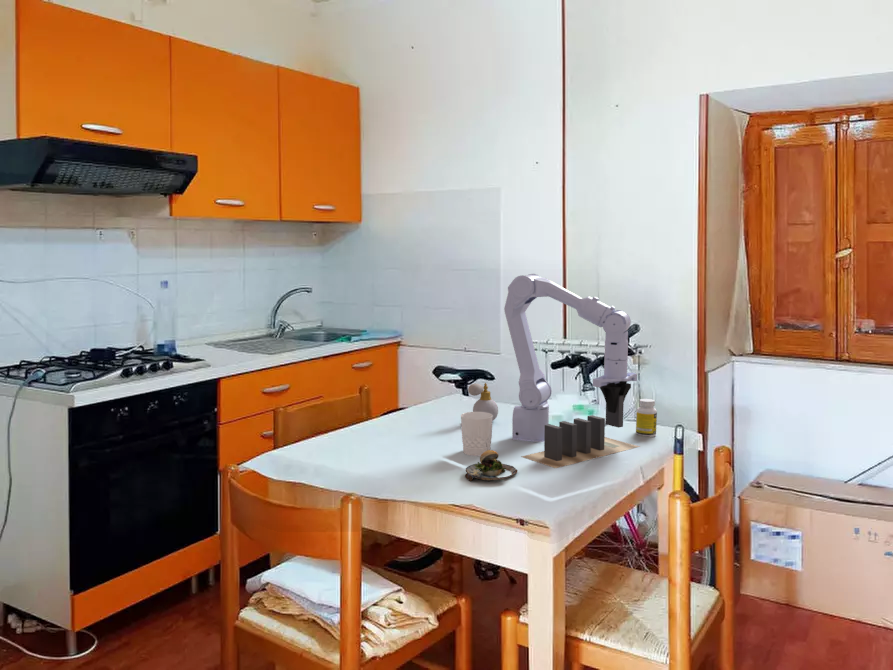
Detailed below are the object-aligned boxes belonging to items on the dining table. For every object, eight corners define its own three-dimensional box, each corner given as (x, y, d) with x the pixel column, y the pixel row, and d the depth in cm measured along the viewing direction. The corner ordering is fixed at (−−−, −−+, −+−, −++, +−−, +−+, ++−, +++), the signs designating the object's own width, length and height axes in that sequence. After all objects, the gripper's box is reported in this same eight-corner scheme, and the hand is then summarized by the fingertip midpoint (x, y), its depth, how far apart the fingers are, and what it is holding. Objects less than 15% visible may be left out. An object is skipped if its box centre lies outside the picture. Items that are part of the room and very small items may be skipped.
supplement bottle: (656, 438, 208) (657, 402, 207) (636, 437, 209) (637, 401, 208) (655, 433, 214) (656, 398, 212) (635, 432, 215) (636, 397, 213)
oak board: (555, 470, 180) (555, 467, 180) (520, 458, 190) (520, 456, 190) (640, 448, 198) (640, 446, 198) (604, 439, 208) (604, 436, 208)
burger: (465, 485, 171) (465, 452, 170) (464, 469, 183) (464, 438, 182) (519, 485, 171) (520, 452, 170) (515, 469, 183) (515, 438, 182)
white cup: (496, 451, 197) (496, 412, 196) (487, 459, 189) (487, 419, 188) (466, 448, 199) (466, 410, 198) (456, 457, 192) (456, 417, 191)
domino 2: (571, 457, 189) (572, 425, 188) (558, 453, 192) (559, 421, 191) (576, 456, 190) (576, 424, 189) (563, 452, 193) (563, 421, 192)
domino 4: (599, 450, 195) (600, 419, 194) (586, 446, 198) (587, 416, 197) (604, 449, 196) (604, 418, 195) (591, 445, 199) (591, 415, 198)
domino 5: (618, 427, 196) (619, 396, 195) (605, 424, 200) (606, 393, 199) (622, 426, 197) (623, 395, 196) (609, 423, 200) (610, 392, 199)
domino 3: (586, 453, 192) (586, 422, 191) (573, 450, 195) (573, 418, 194) (590, 452, 193) (591, 421, 192) (577, 448, 196) (578, 418, 195)
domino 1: (557, 461, 186) (557, 428, 185) (544, 456, 189) (544, 425, 188) (561, 459, 187) (562, 427, 186) (549, 455, 190) (549, 424, 189)
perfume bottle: (502, 420, 229) (502, 380, 228) (489, 427, 221) (489, 386, 219) (478, 417, 233) (478, 378, 231) (465, 425, 224) (465, 384, 222)
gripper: (608, 363, 189) (606, 418, 190) (647, 358, 197) (645, 410, 199) (587, 360, 194) (585, 413, 196) (625, 354, 203) (624, 405, 205)
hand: (614, 411), depth 198 cm, fingers closed on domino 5, 1 cm apart
